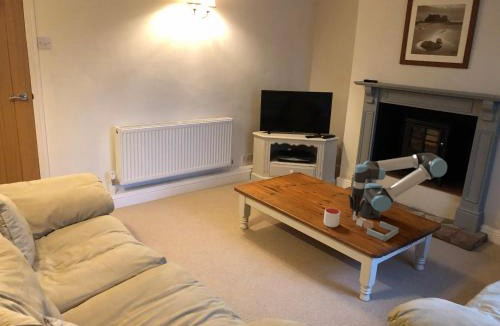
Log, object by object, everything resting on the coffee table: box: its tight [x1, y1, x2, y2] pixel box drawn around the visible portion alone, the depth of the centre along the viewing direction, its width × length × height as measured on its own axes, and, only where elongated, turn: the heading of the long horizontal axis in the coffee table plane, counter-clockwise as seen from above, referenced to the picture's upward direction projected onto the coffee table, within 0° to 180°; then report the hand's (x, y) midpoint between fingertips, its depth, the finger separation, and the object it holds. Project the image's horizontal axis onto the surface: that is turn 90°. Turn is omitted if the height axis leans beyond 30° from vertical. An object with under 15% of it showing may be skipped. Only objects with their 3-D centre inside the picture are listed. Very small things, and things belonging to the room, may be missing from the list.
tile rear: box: [355, 217, 367, 228], centre depth 277 cm, size 4×4×4 cm
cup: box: [323, 207, 341, 228], centre depth 274 cm, size 10×10×10 cm
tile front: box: [362, 219, 374, 230], centre depth 273 cm, size 4×4×4 cm
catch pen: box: [365, 221, 400, 242], centre depth 266 cm, size 13×18×4 cm
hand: (354, 219), depth 281 cm, fingers closed
